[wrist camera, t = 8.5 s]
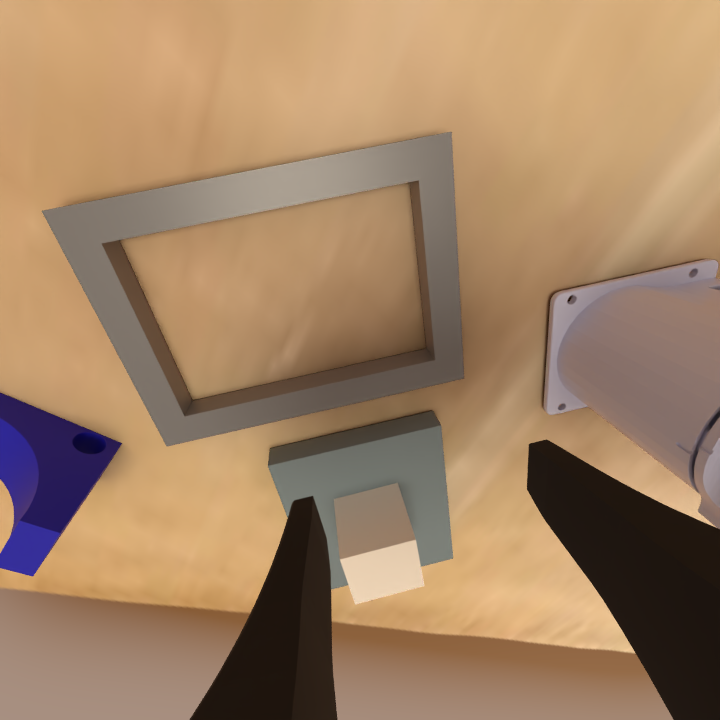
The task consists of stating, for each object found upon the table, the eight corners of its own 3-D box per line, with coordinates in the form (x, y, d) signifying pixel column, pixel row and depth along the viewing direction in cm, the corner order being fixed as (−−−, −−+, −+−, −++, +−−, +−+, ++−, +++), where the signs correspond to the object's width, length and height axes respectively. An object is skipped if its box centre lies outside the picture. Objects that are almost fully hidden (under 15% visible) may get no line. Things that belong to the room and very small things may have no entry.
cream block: (397, 482, 22) (415, 539, 19) (406, 526, 24) (424, 585, 21) (333, 499, 22) (339, 559, 19) (347, 542, 24) (355, 604, 21)
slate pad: (432, 410, 22) (441, 425, 21) (445, 540, 28) (453, 558, 26) (269, 448, 22) (267, 466, 20) (315, 572, 27) (316, 593, 26)
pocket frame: (439, 135, 16) (451, 131, 15) (453, 365, 21) (464, 378, 20) (64, 208, 15) (41, 210, 14) (175, 429, 20) (166, 446, 19)
